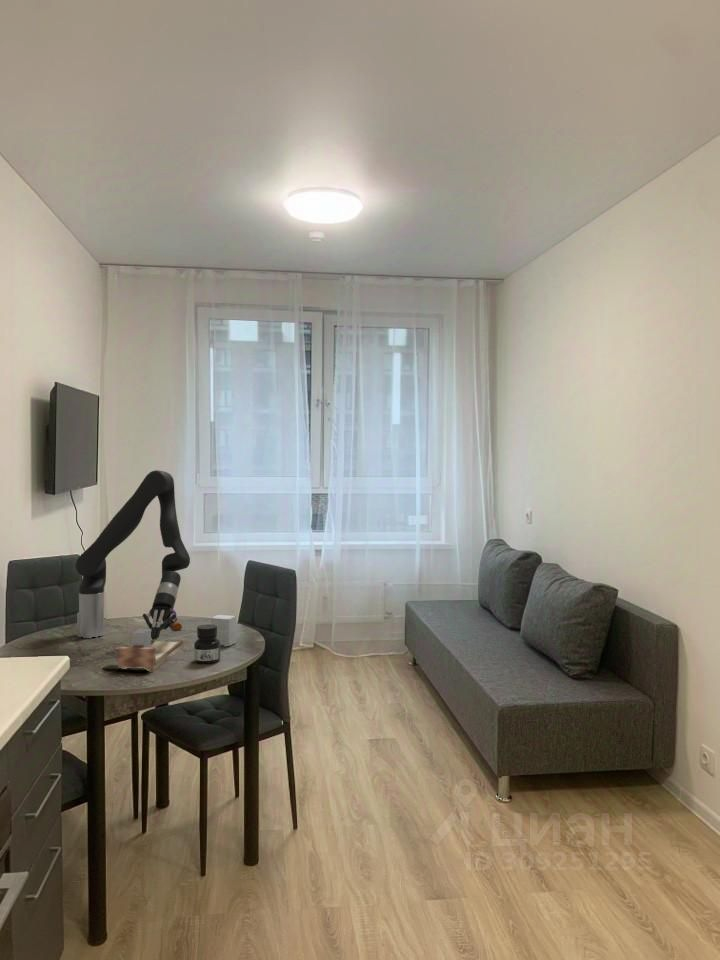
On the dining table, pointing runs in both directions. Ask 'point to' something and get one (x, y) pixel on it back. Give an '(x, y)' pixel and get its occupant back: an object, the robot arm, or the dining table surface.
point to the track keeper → (142, 638)
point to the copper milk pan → (147, 655)
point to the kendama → (176, 624)
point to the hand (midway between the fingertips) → (153, 638)
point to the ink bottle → (207, 645)
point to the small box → (225, 629)
